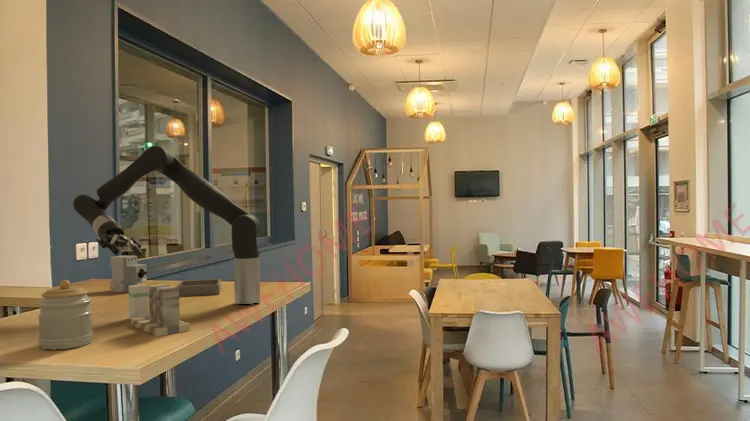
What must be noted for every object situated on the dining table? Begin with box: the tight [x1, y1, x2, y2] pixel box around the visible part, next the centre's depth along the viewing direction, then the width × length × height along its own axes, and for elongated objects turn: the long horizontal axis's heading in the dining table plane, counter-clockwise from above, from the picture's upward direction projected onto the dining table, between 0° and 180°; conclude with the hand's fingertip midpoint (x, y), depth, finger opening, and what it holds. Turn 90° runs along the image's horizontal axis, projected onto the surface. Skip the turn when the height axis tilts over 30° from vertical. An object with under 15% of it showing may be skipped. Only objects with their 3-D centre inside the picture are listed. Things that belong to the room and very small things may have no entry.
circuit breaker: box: [109, 255, 148, 293], centre depth 241 cm, size 8×14×15 cm, turn 78°
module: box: [127, 283, 149, 320], centre depth 183 cm, size 5×5×11 cm
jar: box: [37, 279, 94, 351], centre depth 151 cm, size 13×13×18 cm
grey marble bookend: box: [130, 283, 191, 337], centre depth 170 cm, size 20×10×13 cm, turn 43°
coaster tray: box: [175, 278, 222, 297], centre depth 235 cm, size 17×17×4 cm
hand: (129, 253), depth 190 cm, fingers open, 8 cm apart
